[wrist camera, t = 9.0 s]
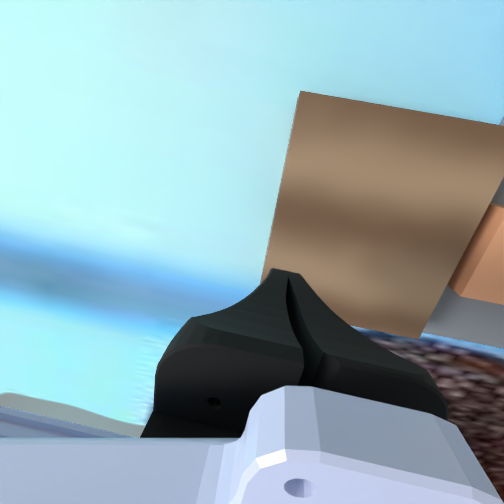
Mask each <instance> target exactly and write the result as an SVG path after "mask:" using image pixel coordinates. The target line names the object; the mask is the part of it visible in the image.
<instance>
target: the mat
mask: <svg viewBox="0 0 504 504" xmlns="http://www.w3.org/2000/svg"><path fill="white" fill-rule="evenodd" d="M500 125H501V126H504V118H503V120H502V122H501V124H500ZM490 203H493V204H499V205H504V177H503V179H502V181H501V183H500V185H499V187H498V189H497V191H496V192H495V194H494V196H493V198H492V200H491V202H490ZM422 332H425V333H430V334H434V335H439V336H444V337H449V338H454V339H459V340H464V341H469V342H474V343H479V344H484V345H489V346H494V347H499V348H503V349H504V305H502V304H497V303H492V302H487V301H481V300H476V299H471V298H466V297H461V296H459V295H458V294H457V293H456V292H455V291H454V290H452V289H451V288H450V287H449V286H448V285H447V286H446V288H445V289H444V291H443V293H442V295H441V297H440V299H439V301H438V303H437V305H436V307H435V308H434V310H433V312H432V314H431V316H430V318H429V320H428V322H427V324H426V326H425V328H424V329H423V331H422Z"/></svg>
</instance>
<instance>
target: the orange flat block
mask: <svg viewBox="0 0 504 504" xmlns="http://www.w3.org/2000/svg"><path fill="white" fill-rule="evenodd" d="M447 285H448V286H449V287H450V288H451V289H452V290H454V291H455V292H456V293H457V294H458V295H459V296H461V297H466V298H471V299H476V300H481V301H487V302H492V303H497V304H502V305H504V205H499V204H493V203H490V204H489V206H488V208H487V210H486V212H485V213H484V215H483V217H482V219H481V221H480V223H479V225H478V227H477V229H476V231H475V232H474V234H473V236H472V238H471V240H470V242H469V244H468V246H467V248H466V250H465V251H464V253H463V255H462V257H461V259H460V261H459V263H458V265H457V267H456V269H455V270H454V272H453V274H452V276H451V278H450V280H449V282H448V284H447Z"/></svg>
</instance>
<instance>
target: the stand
mask: <svg viewBox="0 0 504 504" xmlns="http://www.w3.org/2000/svg"><path fill="white" fill-rule="evenodd" d="M503 177H504V126H501V125H496V124H490V123H484V122H478V121H473V120H467V119H461V118H455V117H449V116H444V115H438V114H432V113H426V112H420V111H415V110H409V109H403V108H397V107H392V106H386V105H380V104H374V103H368V102H363V101H357V100H351V99H345V98H339V97H334V96H328V95H322V94H316V93H311V92H305V91H300V94H299V97H298V100H297V105H296V110H295V115H294V120H293V125H292V130H291V135H290V140H289V145H288V149H287V154H286V159H285V164H284V169H283V174H282V179H281V184H280V189H279V194H278V198H277V203H276V208H275V213H274V218H273V223H272V228H271V233H270V238H269V243H268V247H267V252H266V257H265V262H264V267H263V272H262V277H261V282H260V284H261V283H262V282H263V281H264V279H265V278H266V277H267V275H268V274H269V271H270V269H272V268H276V269H281V270H285V271H290V272H295V273H299V274H301V275H302V277H303V278H304V279H305V280H306V282H307V283H308V284H309V285H310V287H311V288H312V289H313V290H314V292H315V293H316V294H317V295H318V296H319V297H320V298H321V300H322V301H323V302H324V303H325V304H326V305H327V306H328V307H329V308H330V309H331V310H332V311H333V312H334V313H335V314H337V315H338V316H339V317H340V318H341V319H342V320H344V321H345V322H346V323H347V324H349V325H351V326H356V327H361V328H366V329H371V330H376V331H381V332H385V333H390V334H395V335H400V336H405V337H410V338H415V339H419V337H420V335H421V333H422V331H423V329H424V328H425V326H426V324H427V322H428V320H429V318H430V316H431V314H432V312H433V310H434V308H435V307H436V305H437V303H438V301H439V299H440V297H441V295H442V293H443V291H444V289H445V288H446V286H447V284H448V282H449V280H450V278H451V276H452V274H453V272H454V270H455V269H456V267H457V265H458V263H459V261H460V259H461V257H462V255H463V253H464V251H465V250H466V248H467V246H468V244H469V242H470V240H471V238H472V236H473V234H474V232H475V231H476V229H477V227H478V225H479V223H480V221H481V219H482V217H483V215H484V213H485V212H486V210H487V208H488V206H489V204H490V202H491V200H492V198H493V196H494V194H495V192H496V191H497V189H498V187H499V185H500V183H501V181H502V179H503Z"/></svg>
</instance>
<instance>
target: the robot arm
mask: <svg viewBox="0 0 504 504" xmlns="http://www.w3.org/2000/svg"><path fill="white" fill-rule="evenodd" d="M448 410H449V408H448V405H447V403H446V400H445V398H444V396H443V394H442V393H441V391H440V390H439V388H438V386H437V385H436V383H435V382H434V380H433V379H432V377H431V375H430V374H429V372H428V371H427V370H426V369H424V368H422V367H420V366H418V365H416V364H414V363H412V362H410V361H408V360H406V359H404V358H402V357H400V356H398V355H396V354H394V353H392V352H390V351H388V350H387V349H385V348H383V347H381V346H380V345H378V344H376V343H375V342H373V341H371V340H370V339H368V338H367V337H365V336H364V335H362V334H361V333H360V332H358V331H357V330H355V329H354V328H352V327H351V326H350V325H349V324H347V323H346V322H345V321H344V320H342V319H341V318H340V317H339V316H338V315H337V314H335V313H334V312H333V311H332V310H331V309H330V308H329V307H328V306H327V305H326V304H325V303H324V302H323V301H322V300H321V298H320V297H319V296H318V295H317V294H316V293H315V292H314V290H313V289H312V288H311V287H310V285H309V284H308V283H307V282H306V280H305V279H304V278H303V277H302V275H301V274H299V273H295V272H290V271H285V270H281V269H276V268H272V269H270V271H269V274H268V275H267V277H266V278H265V279H264V281H263V282H262V283H261V284H260V285H259V286H258V287H257V288H256V289H255V290H254V291H253V292H252V293H251V294H249V295H248V296H247V297H246V298H244V299H243V300H241V301H240V302H238V303H236V304H234V305H233V306H231V307H228V308H226V309H223V310H221V311H217V312H214V313H211V314H206V315H202V316H197V317H191V318H190V319H189V320H188V321H187V322H186V323H185V325H184V326H183V327H182V328H181V329H180V330H179V332H178V333H177V334H176V335H175V337H174V338H173V339H172V341H171V342H170V344H169V345H168V347H167V349H166V351H165V352H164V354H163V356H162V358H161V360H160V361H159V363H158V365H157V370H156V374H155V388H154V407H153V412H152V414H151V416H150V418H149V420H148V422H147V424H146V426H145V428H144V431H143V433H142V435H141V437H140V438H134V437H130V436H126V435H122V434H118V433H113V432H109V431H105V430H101V429H96V428H92V427H88V426H84V425H80V424H76V423H71V422H67V421H63V420H59V419H54V418H50V417H46V416H42V415H38V414H34V413H29V412H24V411H21V410H16V409H12V408H8V407H4V406H0V504H504V503H503V501H502V500H501V498H500V496H499V495H498V493H497V491H496V490H495V488H494V486H493V485H492V483H491V482H490V480H489V478H488V477H487V475H486V473H485V472H484V470H483V468H482V467H481V465H480V464H479V462H478V460H477V459H476V457H475V455H474V454H473V452H472V450H471V449H470V447H469V446H468V444H467V442H466V441H465V439H464V437H463V436H462V434H461V432H460V431H459V429H458V428H457V426H456V425H454V424H452V423H450V422H448V421H447V420H448Z"/></svg>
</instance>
